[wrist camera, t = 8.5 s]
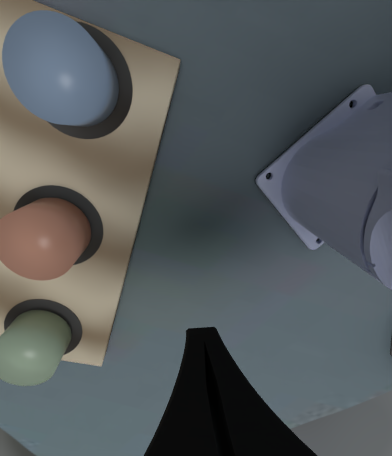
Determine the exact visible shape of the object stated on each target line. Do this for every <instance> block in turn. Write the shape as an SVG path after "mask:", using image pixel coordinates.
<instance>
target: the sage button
mask: <svg viewBox="0 0 392 456" xmlns="http://www.w3.org/2000/svg"><path fill="white" fill-rule="evenodd" d="M71 336H72V334H71V329H70V327H69V325H68V324H67V322H66V321H65V320H64V319H63V318H61V317H60V316H58V315H56V314H54V313H52V312H49V311H44V310H31V311H27V312H24V313H22V314H20V315H19V316H18V317H16V319H15V320H14V321H13V322H12V323H11V324H10V326H9V327H8V328H7V329H6V330H5V331H4V332H3V334H2V335H1V336H0V379H1V380H3V381H5V382H8V383H10V384H14V385H19V386H33V385H38V384H41V383H43V382H45V381H47V380H48V379H50V378H51V377H52V376H53V374H54V372H55V371H56V369H57V367H58V365H59V363H60V361H61V359H62V357H63V355H64V353H65V351H66V349H67V347H68V345H69V343H70V341H71Z"/></svg>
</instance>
